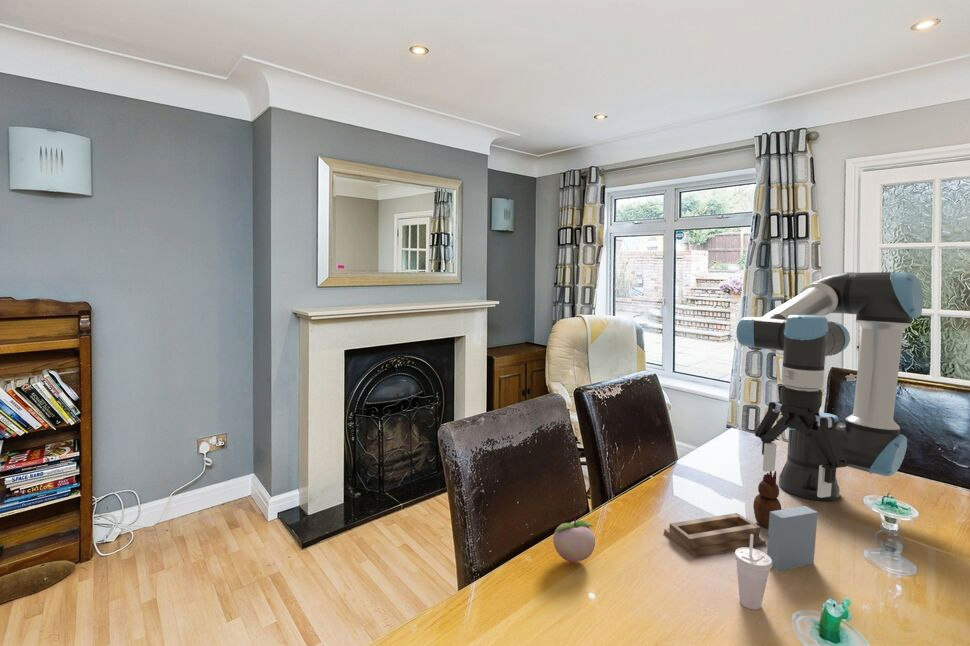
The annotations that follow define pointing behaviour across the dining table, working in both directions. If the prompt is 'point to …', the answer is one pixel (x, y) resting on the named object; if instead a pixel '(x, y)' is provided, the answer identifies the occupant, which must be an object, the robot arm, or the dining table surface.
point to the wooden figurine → (766, 499)
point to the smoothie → (752, 575)
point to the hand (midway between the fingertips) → (794, 482)
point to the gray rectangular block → (792, 537)
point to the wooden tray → (714, 534)
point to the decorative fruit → (574, 540)
